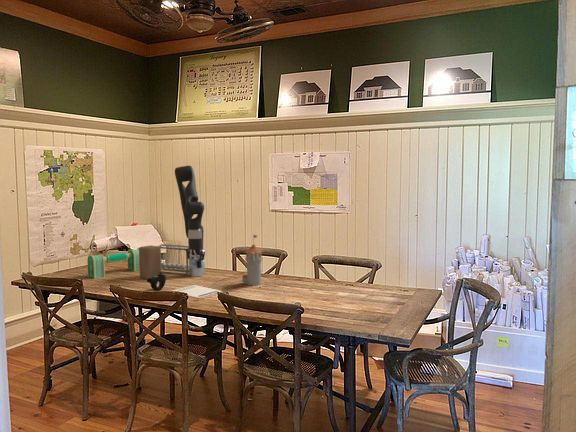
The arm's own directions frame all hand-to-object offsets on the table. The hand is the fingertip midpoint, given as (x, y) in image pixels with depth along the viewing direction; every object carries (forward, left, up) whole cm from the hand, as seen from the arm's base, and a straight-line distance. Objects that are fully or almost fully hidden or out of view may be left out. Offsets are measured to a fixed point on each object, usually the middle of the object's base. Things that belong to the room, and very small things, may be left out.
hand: (195, 267), depth 266 cm
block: (-6, -51, -14) cm, 53 cm away
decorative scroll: (0, -80, -14) cm, 81 cm away
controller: (+12, -20, -14) cm, 27 cm away
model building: (-33, +13, -14) cm, 38 cm away
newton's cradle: (-26, -52, -14) cm, 60 cm away
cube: (0, 0, 0) cm, 0 cm away
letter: (0, 0, -14) cm, 14 cm away
